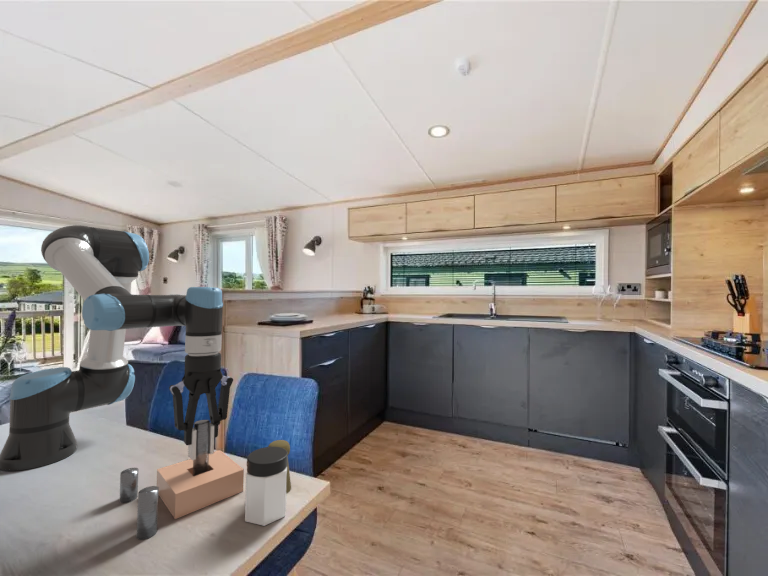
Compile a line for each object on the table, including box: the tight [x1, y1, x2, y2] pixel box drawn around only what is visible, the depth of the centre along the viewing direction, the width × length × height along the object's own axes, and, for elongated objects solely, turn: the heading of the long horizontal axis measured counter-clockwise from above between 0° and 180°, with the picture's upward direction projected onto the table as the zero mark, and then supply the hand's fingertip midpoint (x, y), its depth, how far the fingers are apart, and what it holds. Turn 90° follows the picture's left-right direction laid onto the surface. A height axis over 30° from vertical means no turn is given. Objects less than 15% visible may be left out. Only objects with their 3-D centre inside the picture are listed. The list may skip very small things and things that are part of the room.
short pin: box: [119, 467, 139, 504], centre depth 76 cm, size 3×3×6 cm
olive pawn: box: [267, 439, 292, 494], centre depth 80 cm, size 6×6×11 cm
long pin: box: [193, 419, 211, 476], centre depth 79 cm, size 3×3×12 cm
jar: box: [244, 446, 289, 527], centre depth 72 cm, size 9×8×12 cm
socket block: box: [156, 449, 245, 520], centre depth 79 cm, size 14×14×5 cm
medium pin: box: [135, 485, 159, 540], centre depth 65 cm, size 3×3×8 cm
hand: (201, 454), depth 79 cm, fingers closed on long pin, 3 cm apart
